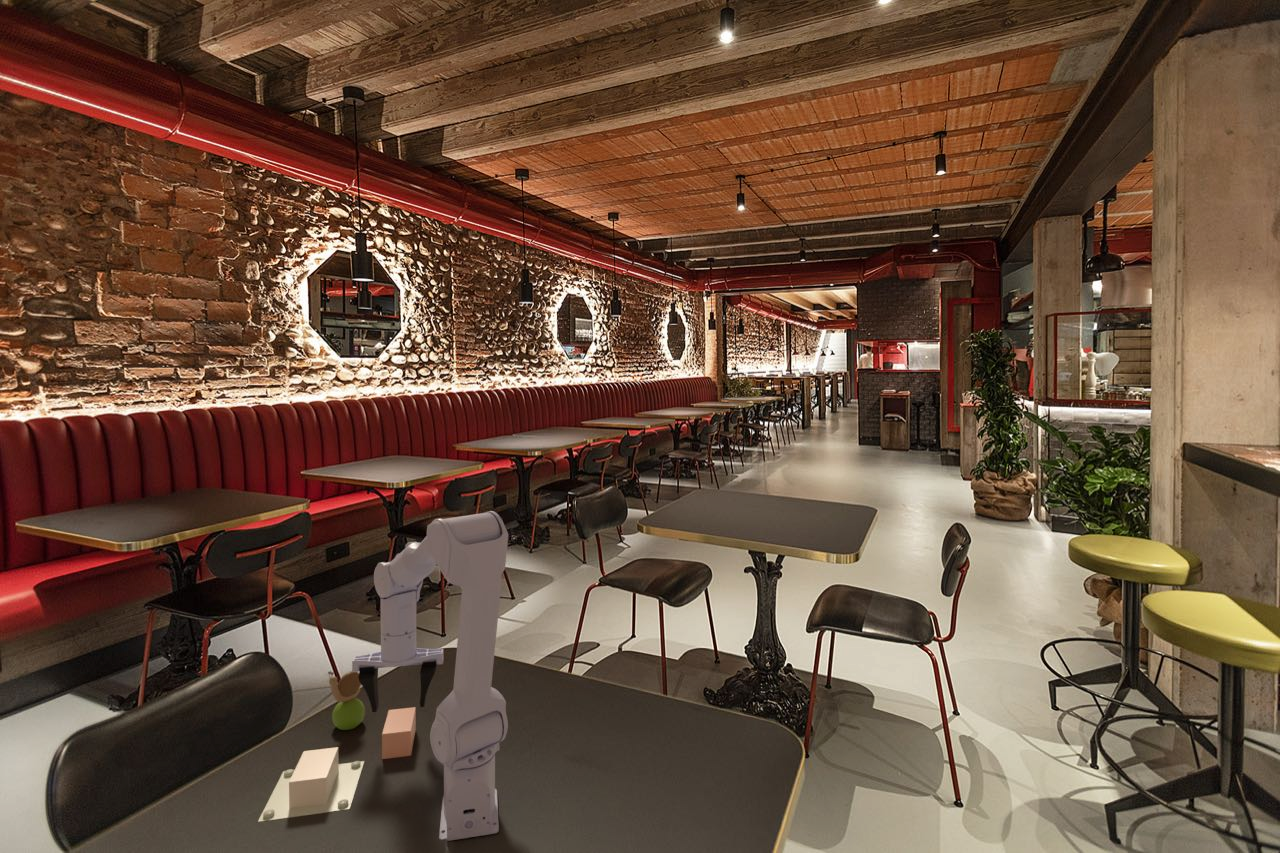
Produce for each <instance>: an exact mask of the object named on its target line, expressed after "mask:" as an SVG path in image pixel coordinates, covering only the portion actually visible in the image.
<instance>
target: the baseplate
mask: <svg viewBox="0 0 1280 853" xmlns="http://www.w3.org/2000/svg"><path fill="white" fill-rule="evenodd" d="M364 764H365V760H362V761H360V760H355V761H353V762H347V763H339V772H338V774H337V777H336V780H335V782H334V785H333V788H332V791H331V793H330V796H329V799H328V802H327V804H320V805H313V806H305V807H298V808H291V809H289V781H290V779H291V777H292V775H293V773H294V771H295V769H292V768H291V769H290V768H289V769H287V770H283V771H282V772H281V775H280V777H279V780H278V781H277V783H276V785H275V787H274V789H273V791H272V792H271V795H270V797H269V799H268V801H267V802H266V805H265V806H264V809H263V811H262V812H261V814H260V816H259V818H258V821H257V823H262V822H267V821H276V820H281V819H282V820H283V819H289V818H297V817H304V816H310V815H317V814H323V813H324V814H325V813H332V812H339V811H345V810H347V811H348V810H350V808H351V807H352V802H353V801H354V800H353V799H354V796H355V793H356V790H357V787H358V783H359V781H360V780H359V779H360V777H361V773H362V770H363V767H364Z"/></svg>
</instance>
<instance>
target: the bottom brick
mask: <svg viewBox="0 0 1280 853" xmlns="http://www.w3.org/2000/svg"><path fill="white" fill-rule="evenodd" d="M339 764H340V763H339V747H338V746H335V747H329V748H327V747H326V748H320V749H311V750H310V749H309V750H304V751H303V752H302V753H301V756H300V758H299V760H298V762H297V764H296V766H295V769H294V770H295V771H294V773H293V775H292V777H291V779H290V781H289V809H291V808H298V807H305V806H313V805H320V804H327V802H328V799H329V796H330V793H331V791H332V788H333V785H334V782H335V780H336V777H337V774H338V772H339Z"/></svg>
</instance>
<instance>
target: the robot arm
mask: <svg viewBox="0 0 1280 853" xmlns="http://www.w3.org/2000/svg"><path fill="white" fill-rule="evenodd" d="M508 541H509V533H508V530H507V528H506V525H505V524H504V521H503V518H502V517H501V516H500V515H499V514H498V512H496V511H494V510H493V511H492V510H489V511H485V512H482V513H475V514H474V513H473V514H468V515H462V516H455V517H454V516H453V517H448V518H441V517H440V518H434V520H432V522H431V523H429V524H427V528H426V536H425V537H424V539H423V540H421V542H417V541H409V542H407V543H406V544H405V545H404V546H405V547H404V549H403V550H402V551H401V552H400V553H399V552H398V553H396V555H395V557H394V558H393V559H392V560H391V561H387V562H385V561H382V562H378V563H377V565H376V567H375V569H374V572H373V584H374V588H375V591H376V593H377V595H378V596H379V598H380V651H377V652H372V653H368V654H367V653H366V654H362V655H355V656H353V658H352V661H351V668H352V669H351V670H352V672H358V673H359V676H358V679H359V682H360V683H361V685H360V686H362V688H363V689H364V690H365V693H366V695H367V697H368V700H369V703H370V707H371V712H372V713H377V711H378V708H379V704H380V703H379V688H378V687H379V686H378V685H379V684H378V683H379V682H378V681H379V680H378V678H379V669H383V668H398V667H405V666H407V667H408V666H417V665H419V666H420V665H421V667H420V672H419V673H420V674H419V675H420V678H419V679H420V696H419V697H420V699H419V707H420V708H425V705H426V699H427V698H426V697H427V694H428V689H429V687H430V684H431V682H432V679H433V678H434V676H435V673H436V671H437V665H443V664H444V649H443V648H438V649H437V648H436V649H434V648H419V647H417V602H419V601H420V596H421V595H420V594H421V589H422V586H423V584H424V583H423V582H424V579H426V578H427V577H428V576H430V575H431V574H432V573H433V572H434V571H435V569H436V567H437V568H438V569H439V570H440V572H441V574H442V575H443V576H444V578H445V580H446V582H447V583H449V584H451V585H454V586H458V587H460V588H461V597H460V607H459V608H460V610H459V619H458V620H459V621H458V633H457V642H456V656H455V667H454V676H453V688H452V690H451V692H450V693H449V694H448V695H447V696H446V697H445V698H444V699H443V700H442V701H441V702H440V703H439V705H438V706H437V707H436V709H435V710H436V712H435V719H434V720H433V723H432V725H431V728H430V733H429V739H430V740H429V741H430V742H429V743H430V746H431V750H432V753H433V755H434V757H435V759H436V760H437V761H438V762H439V763H440V764H442V765H443V797H442V802H441V811H440V822H439V825H440V826H439V831H438V832H439V833H438V835H439V836H438V839H439V840H445V841H446V842H449V841H455V840H463V839H469V838H473V837H480V836H487V835H494V834H497V833H498V832H499V828H500V826H499V809H498V808H499V807H498V806H499V804H498V790H497V788H496V761H495V760H496V753H497V752H498V751H500V742H502V741H504V740H505V739H506V736H507V733H508V728H509V723H508V722H509V721H508V716H507V707H506V706H507V701H506V699H505V698H504V696H503V694H501V692H499V690H498V689H496V688H494V687H492V681H493V671H494V662H495V652H496V643H497V642H496V640H497V630H498V621H499V613H500V612H499V610H500V600H501V590H502V574H503V572H504V571H505V570H506V562H507V554H508V553H507V552H508V544H509V543H508Z"/></svg>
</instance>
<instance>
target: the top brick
mask: <svg viewBox="0 0 1280 853" xmlns="http://www.w3.org/2000/svg"><path fill="white" fill-rule="evenodd" d="M416 710H417V709H416V707H415V706H413V707H405V708H404V707H403V708H396V709H395V708H394V709H388V711H387V715H386V719H385V722H384V727H383V729H382V733H381V750H382V752H381V755H382V756H381V758H382V760H385V759H394V758H402V757H409V756H412V752H413V746H414V741H415V735H416V730H417V728H416V726H417V724H416V723H417V722H416V716H417V715H416V714H417V713H416Z"/></svg>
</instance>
